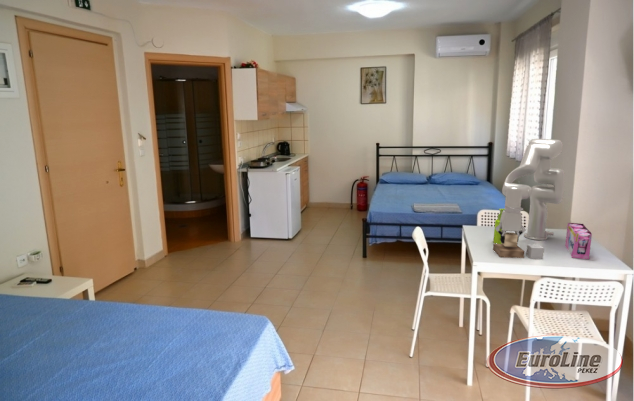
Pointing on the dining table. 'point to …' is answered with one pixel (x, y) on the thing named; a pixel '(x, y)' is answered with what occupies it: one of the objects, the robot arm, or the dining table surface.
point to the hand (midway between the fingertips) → (509, 242)
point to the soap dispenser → (496, 234)
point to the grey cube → (535, 251)
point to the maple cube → (510, 239)
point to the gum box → (578, 240)
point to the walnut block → (508, 251)
